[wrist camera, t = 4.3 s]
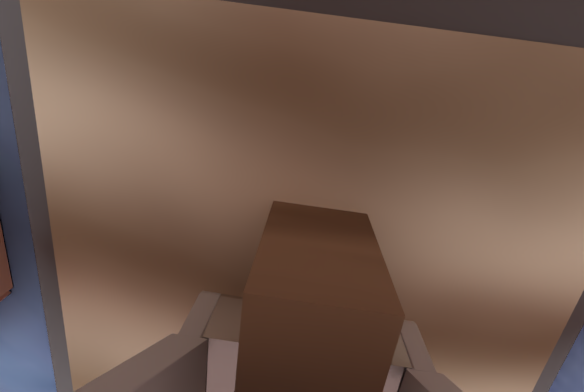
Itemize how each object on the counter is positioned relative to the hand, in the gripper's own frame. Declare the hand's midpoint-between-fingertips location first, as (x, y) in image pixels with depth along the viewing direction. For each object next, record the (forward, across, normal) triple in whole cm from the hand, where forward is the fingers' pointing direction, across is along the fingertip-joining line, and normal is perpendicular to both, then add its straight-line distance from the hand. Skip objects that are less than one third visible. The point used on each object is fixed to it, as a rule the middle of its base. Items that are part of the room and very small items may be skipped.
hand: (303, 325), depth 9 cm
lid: (+2, 0, 0) cm, 2 cm away
